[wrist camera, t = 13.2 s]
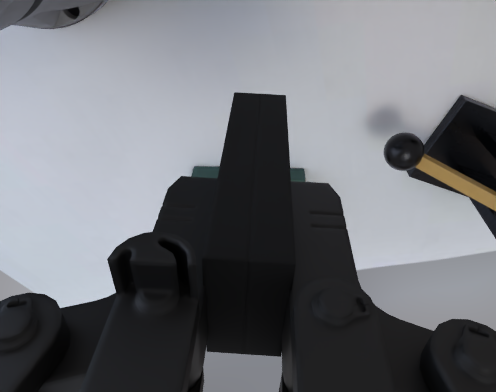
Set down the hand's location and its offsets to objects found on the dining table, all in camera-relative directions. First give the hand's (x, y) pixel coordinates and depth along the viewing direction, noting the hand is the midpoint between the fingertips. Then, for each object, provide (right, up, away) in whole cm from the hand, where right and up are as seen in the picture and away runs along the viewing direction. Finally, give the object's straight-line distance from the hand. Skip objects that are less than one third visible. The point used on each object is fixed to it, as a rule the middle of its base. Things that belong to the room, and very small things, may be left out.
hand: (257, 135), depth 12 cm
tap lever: (+19, 0, +21) cm, 28 cm away
